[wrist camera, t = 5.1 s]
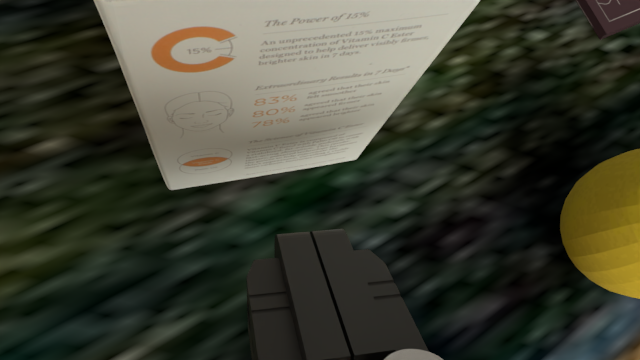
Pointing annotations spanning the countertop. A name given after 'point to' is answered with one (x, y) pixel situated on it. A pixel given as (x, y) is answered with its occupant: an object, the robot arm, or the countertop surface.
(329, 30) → the small box
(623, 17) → the chocolate bar
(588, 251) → the lemon
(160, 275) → the countertop surface
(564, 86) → the countertop surface
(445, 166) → the countertop surface
